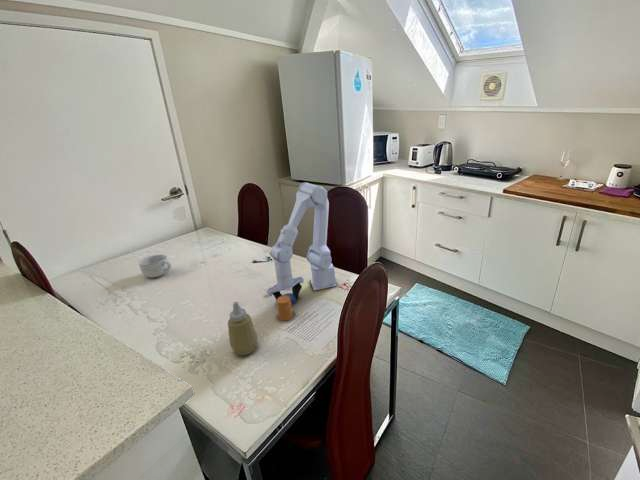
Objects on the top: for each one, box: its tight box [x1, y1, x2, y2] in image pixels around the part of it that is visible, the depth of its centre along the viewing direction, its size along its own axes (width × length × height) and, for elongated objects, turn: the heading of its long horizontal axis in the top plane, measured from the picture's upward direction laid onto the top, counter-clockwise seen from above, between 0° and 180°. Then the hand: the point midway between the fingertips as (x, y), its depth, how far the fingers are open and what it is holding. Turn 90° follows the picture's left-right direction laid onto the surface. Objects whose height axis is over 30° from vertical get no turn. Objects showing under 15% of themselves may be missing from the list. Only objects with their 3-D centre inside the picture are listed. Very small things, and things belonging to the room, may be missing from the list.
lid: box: [282, 292, 297, 305], centre depth 123 cm, size 6×6×2 cm
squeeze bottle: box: [227, 301, 258, 356], centre depth 96 cm, size 8×8×18 cm
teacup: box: [137, 254, 172, 279], centre depth 142 cm, size 14×11×8 cm
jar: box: [275, 296, 294, 322], centre depth 113 cm, size 5×5×8 cm
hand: (288, 303), depth 123 cm, fingers closed on lid, 5 cm apart
